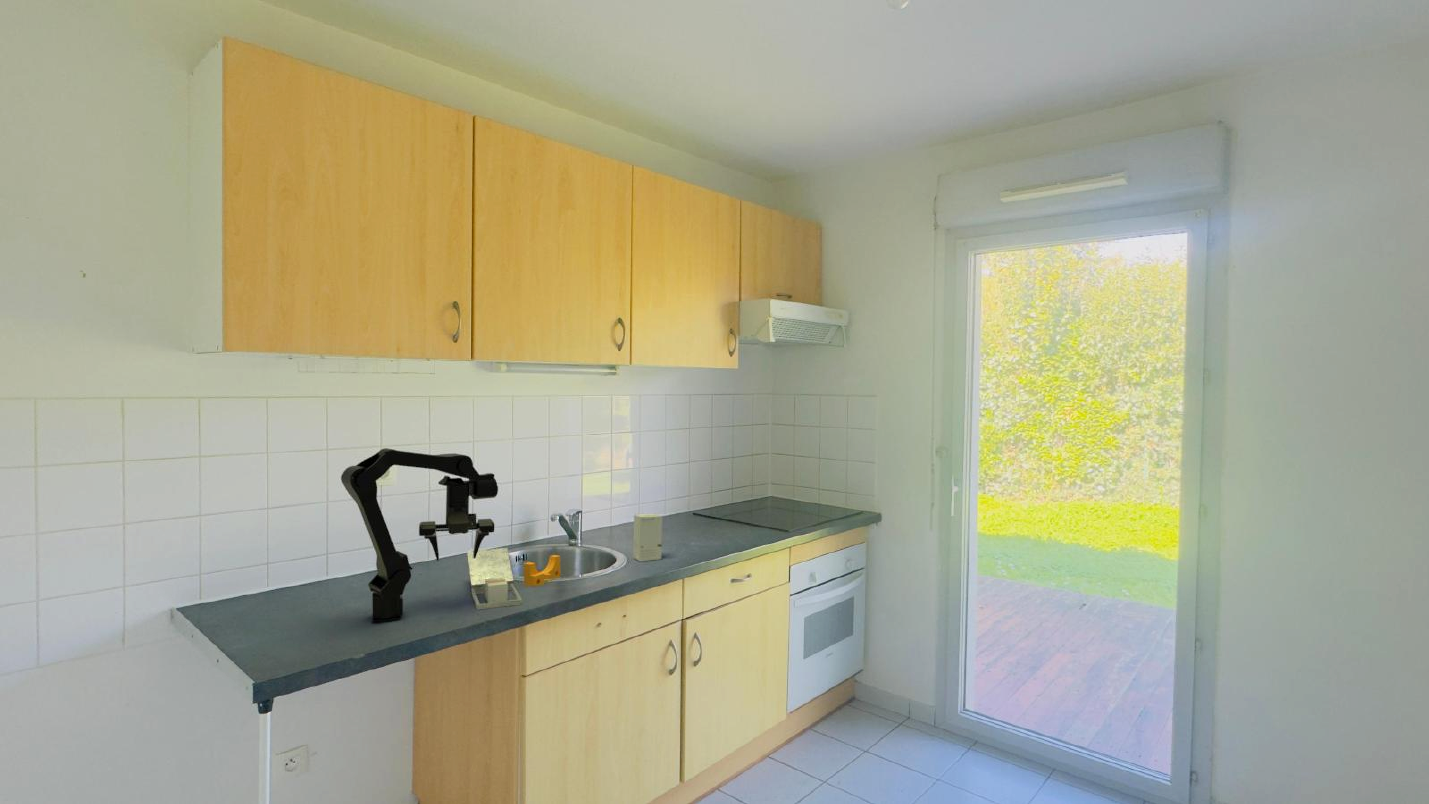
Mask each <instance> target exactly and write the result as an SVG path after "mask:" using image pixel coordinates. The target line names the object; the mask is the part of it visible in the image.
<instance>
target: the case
mask: <svg viewBox="0 0 1429 804" xmlns="http://www.w3.org/2000/svg"><path fill="white" fill-rule="evenodd" d="M473 551H474V550H470V551H469V550H468V551H466V555H467V563H468V564H467V565H468V572H469V579H470V580H469V581H470V587H471V590H470V591H471V597H472V600H473V603H474V604H475V605H474V606H475V609H476V610H477V611H478V610H484V609H485V610H486V609H493V608H502V607H509V606H517V605H518V606H519V605H522V604H523V600H522V598H521V595H520V594H519V592H518V591H517V589H516V587H515V581H514V576H513V572H512V567H511V561H510V556H509V552H508V551H509V550H508V548H507V547H502V548H493V549H492V548H491V549H490V548H489V549H480V550H479V549H478V552H477V555H476V558H473ZM501 577H504V578H505V580H506V582H507V584H508V591H511V592H512V595H513V596H514V598H515V599H509V600H508V601H500V602H492V603H488V602H487V603H485V602H484V603H480V601H479V599H478V596H477V595H481V594H482V595H484V594H485V579H492V578H501Z"/></svg>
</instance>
